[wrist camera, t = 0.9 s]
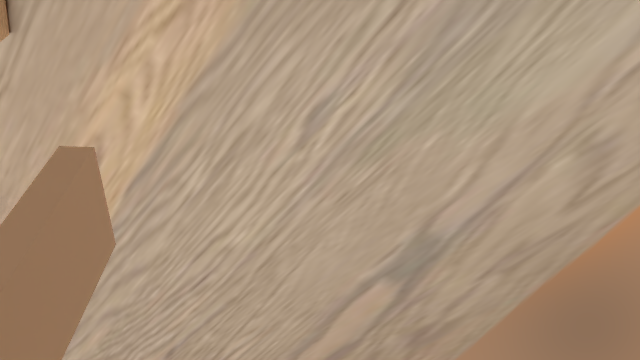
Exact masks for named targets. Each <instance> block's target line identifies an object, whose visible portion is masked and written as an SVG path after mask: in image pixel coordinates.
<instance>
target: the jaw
mask: <svg viewBox="0 0 640 360" xmlns="http://www.w3.org/2000/svg"><path fill="white" fill-rule="evenodd" d="M8 35H9V27H8V19H7V10H6V2H5V0H0V42H1V41H2V40H3V39H5V38H6V37H7V36H8Z"/></svg>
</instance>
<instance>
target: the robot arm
mask: <svg viewBox="0 0 640 360" xmlns="http://www.w3.org/2000/svg"><path fill="white" fill-rule="evenodd" d="M115 245H116V243H115V238H114V234H113V229H112V225H111V220H110V216H109V211H108V207H107V202H106V198H105V193H104V189H103V184H102V180H101V175H100V171H99V166H98V162H97V157H96V153H95V148H94V147H69V146H59V147H58V149H57V150H56V151H55V153H54V154H53V155H52V157H51V158H50V159H49V161H48V162H47V163H46V165H45V166H44V167H43V169H42V170H41V171H40V173H39V174H38V176H37V177H36V178H35V180H34V181H33V182H32V184H31V185H30V186H29V188H28V189H27V190H26V192H25V193H24V194H23V196H22V197H21V199H20V200H19V201H18V203H17V204H16V205H15V207H14V208H13V209H12V211H11V212H10V213H9V215H8V216H7V217H6V219H5V220H4V222H3V223H2V224H1V226H0V360H62V358H63V356H64V354H65V351H66V349H67V347H68V345H69V343H70V341H71V339H72V337H73V335H74V332H75V330H76V328H77V326H78V324H79V322H80V320H81V318H82V315H83V313H84V311H85V309H86V307H87V305H88V303H89V301H90V298H91V296H92V294H93V292H94V290H95V288H96V286H97V284H98V281H99V279H100V277H101V275H102V273H103V271H104V269H105V267H106V264H107V262H108V260H109V258H110V256H111V254H112V252H113V250H114V247H115Z"/></svg>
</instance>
